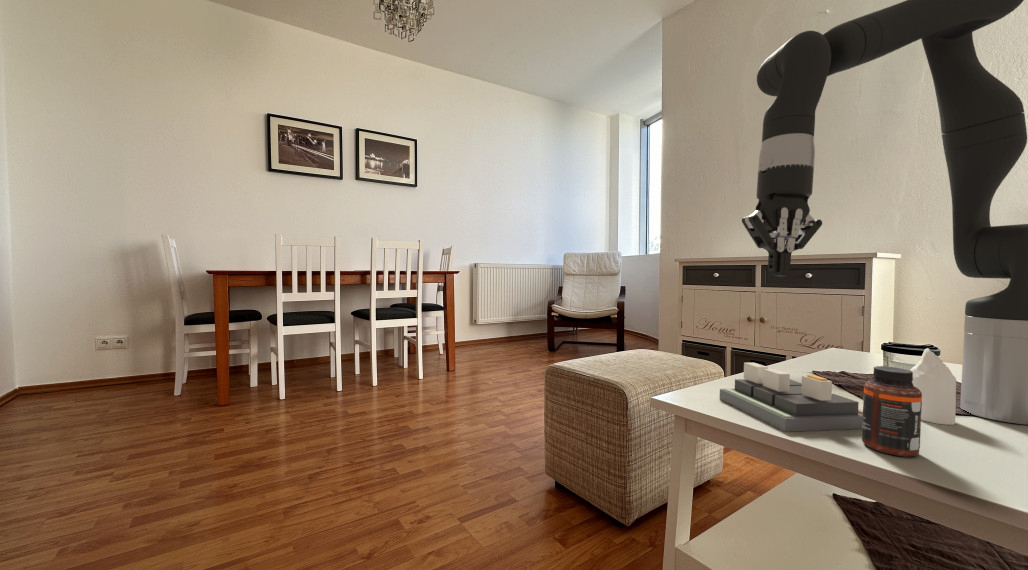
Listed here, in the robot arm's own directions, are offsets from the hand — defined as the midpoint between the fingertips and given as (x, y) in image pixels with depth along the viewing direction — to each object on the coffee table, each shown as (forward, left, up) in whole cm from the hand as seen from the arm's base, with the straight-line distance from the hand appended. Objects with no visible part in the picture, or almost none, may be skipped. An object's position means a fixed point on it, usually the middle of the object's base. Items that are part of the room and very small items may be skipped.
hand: (778, 275), depth 66 cm
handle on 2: (-4, -4, -20) cm, 20 cm away
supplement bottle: (-9, +11, -24) cm, 28 cm away
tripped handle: (-7, +1, -20) cm, 21 cm away
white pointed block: (-29, +1, -24) cm, 37 cm away
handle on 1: (-4, -9, -20) cm, 22 cm away
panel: (-7, -4, -24) cm, 25 cm away
